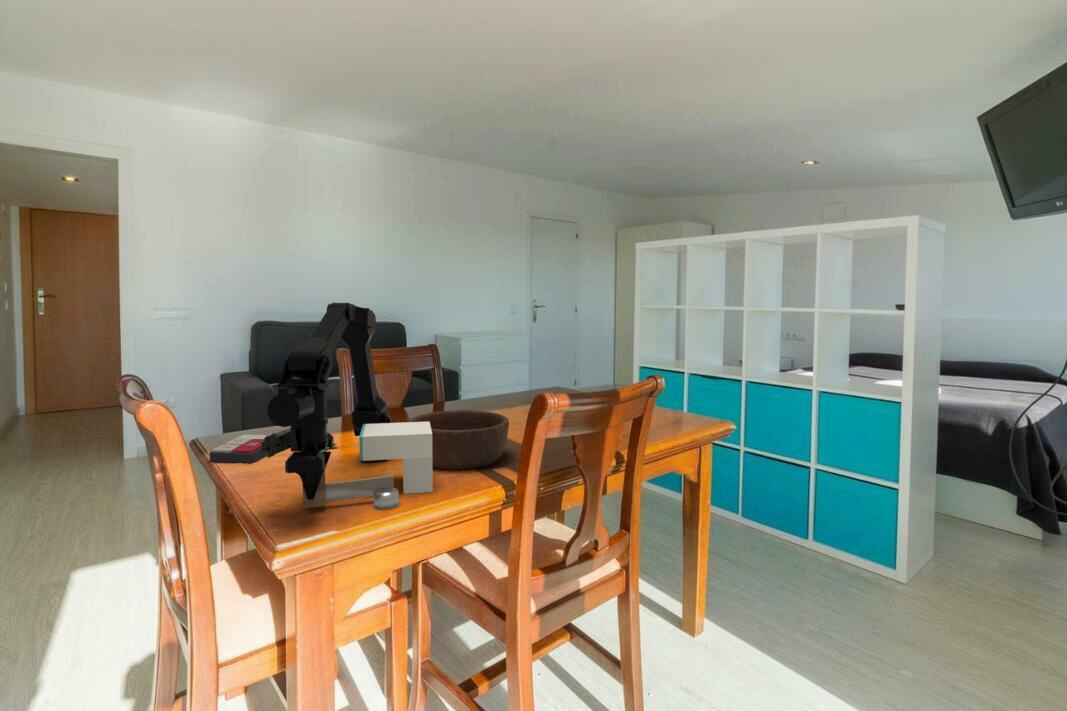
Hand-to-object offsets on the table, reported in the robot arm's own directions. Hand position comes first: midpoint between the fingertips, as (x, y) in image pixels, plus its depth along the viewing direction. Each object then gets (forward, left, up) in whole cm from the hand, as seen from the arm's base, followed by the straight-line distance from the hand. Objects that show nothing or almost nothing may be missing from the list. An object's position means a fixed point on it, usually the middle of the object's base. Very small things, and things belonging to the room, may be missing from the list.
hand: (312, 495), depth 112 cm
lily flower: (-48, -6, -4) cm, 48 cm away
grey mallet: (-1, +7, -1) cm, 7 cm away
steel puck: (0, +14, -3) cm, 14 cm away
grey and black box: (-43, -22, -4) cm, 49 cm away
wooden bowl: (-30, +31, -3) cm, 43 cm away
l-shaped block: (-12, +16, -3) cm, 20 cm away
